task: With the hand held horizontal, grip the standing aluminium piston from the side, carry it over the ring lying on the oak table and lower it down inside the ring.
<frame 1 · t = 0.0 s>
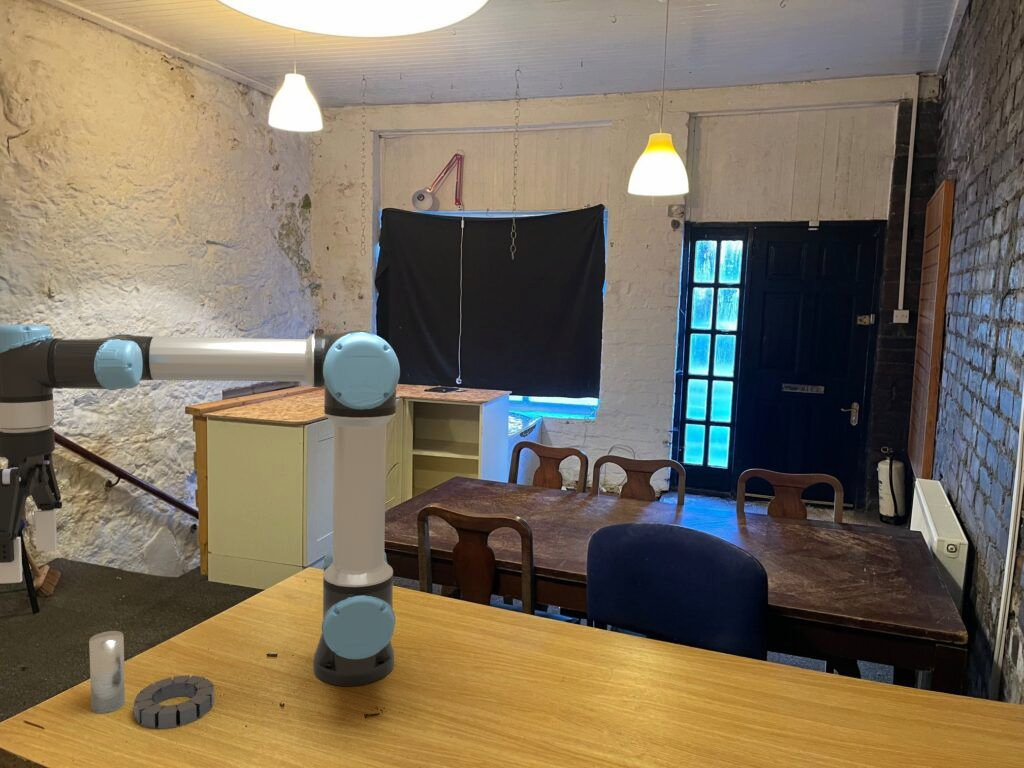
hand: (29, 565, 108), 28 cm above the table, tool pointing down, fingers open, 13 cm apart
ring: (175, 707, 120), on the table
piston: (108, 705, 120), on the table
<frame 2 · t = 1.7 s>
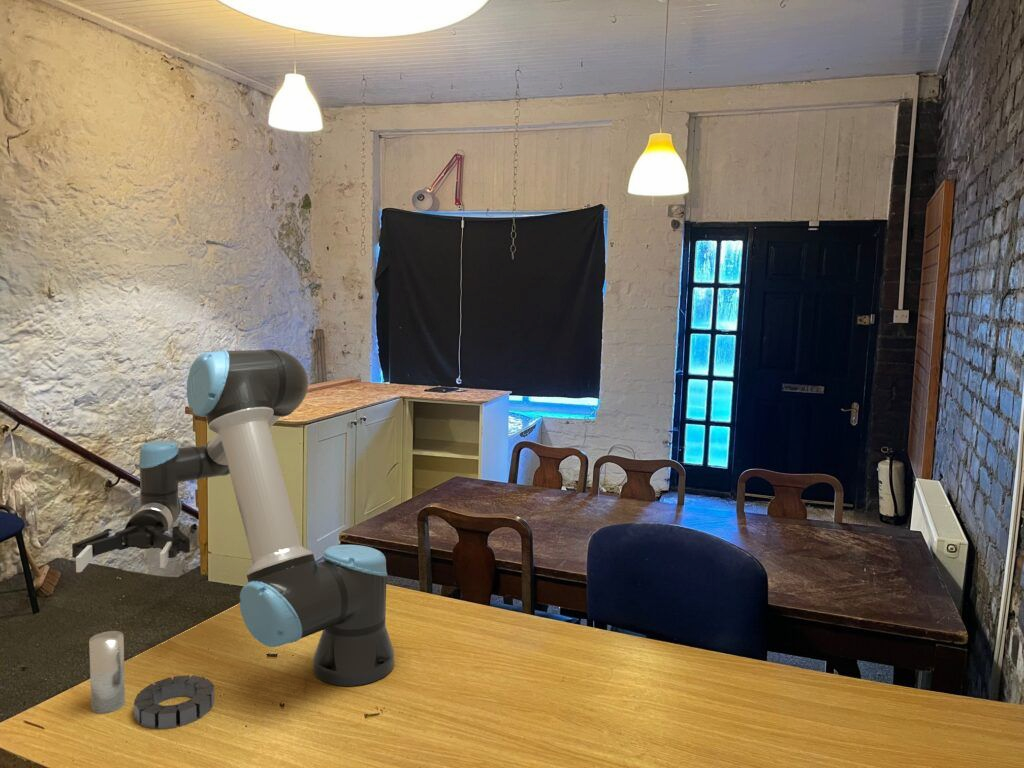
hand: (120, 562, 127), 21 cm above the table, tool horizontal, fingers open, 13 cm apart
nothing on the table moved.
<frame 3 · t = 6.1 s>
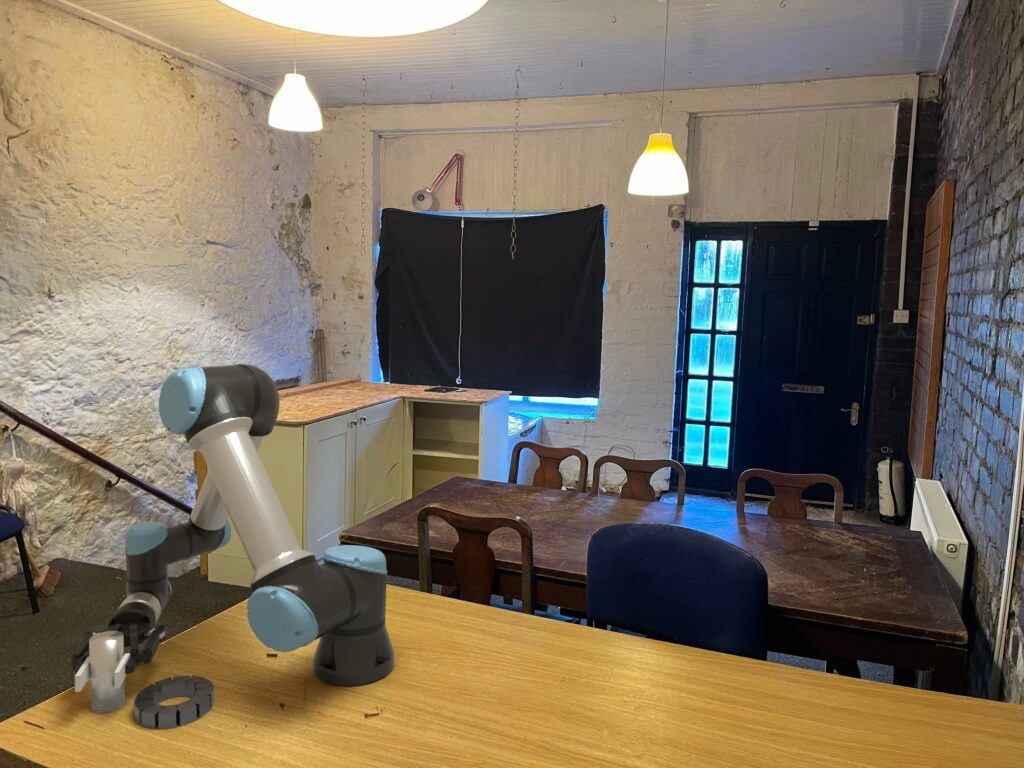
hand: (97, 681, 115), 7 cm above the table, tool horizontal, fingers closed on piston, 5 cm apart
piston: (108, 705, 120), on the table, touching gripper
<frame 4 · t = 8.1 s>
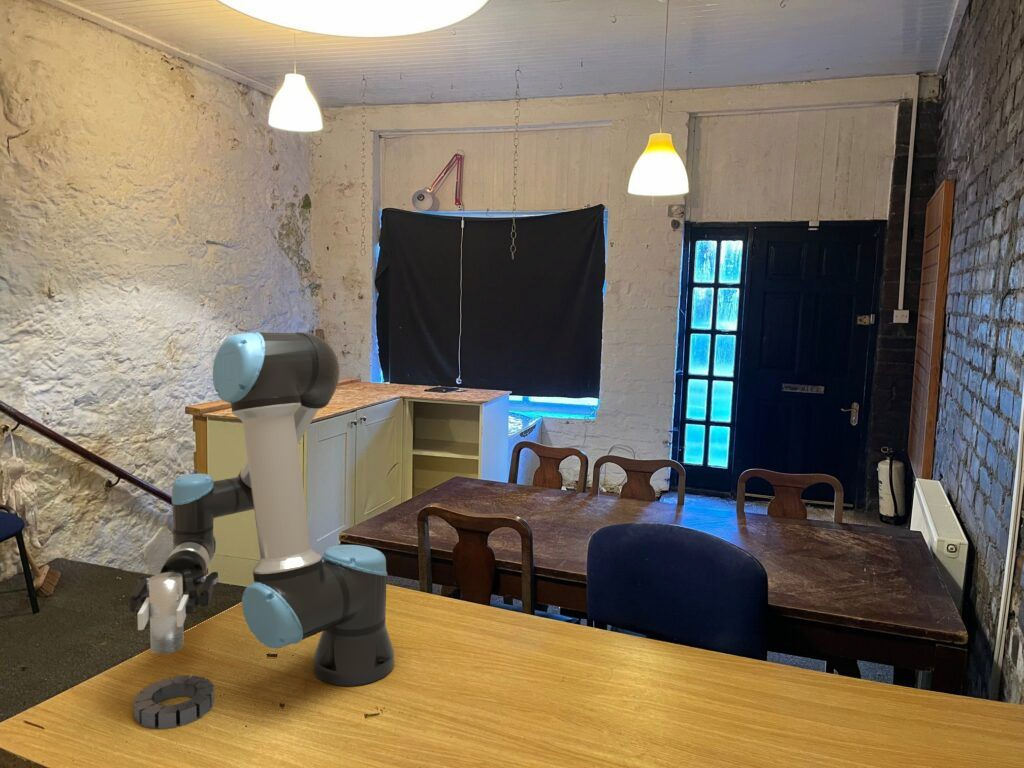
hand: (160, 620, 113), 18 cm above the table, tool horizontal, fingers closed on piston, 5 cm apart
piston: (167, 646, 119), point 11 cm above the table, touching gripper
when the fingers open (8 cm above the table, at t = 10.3 s): piston drops 1 cm, resting in ring.
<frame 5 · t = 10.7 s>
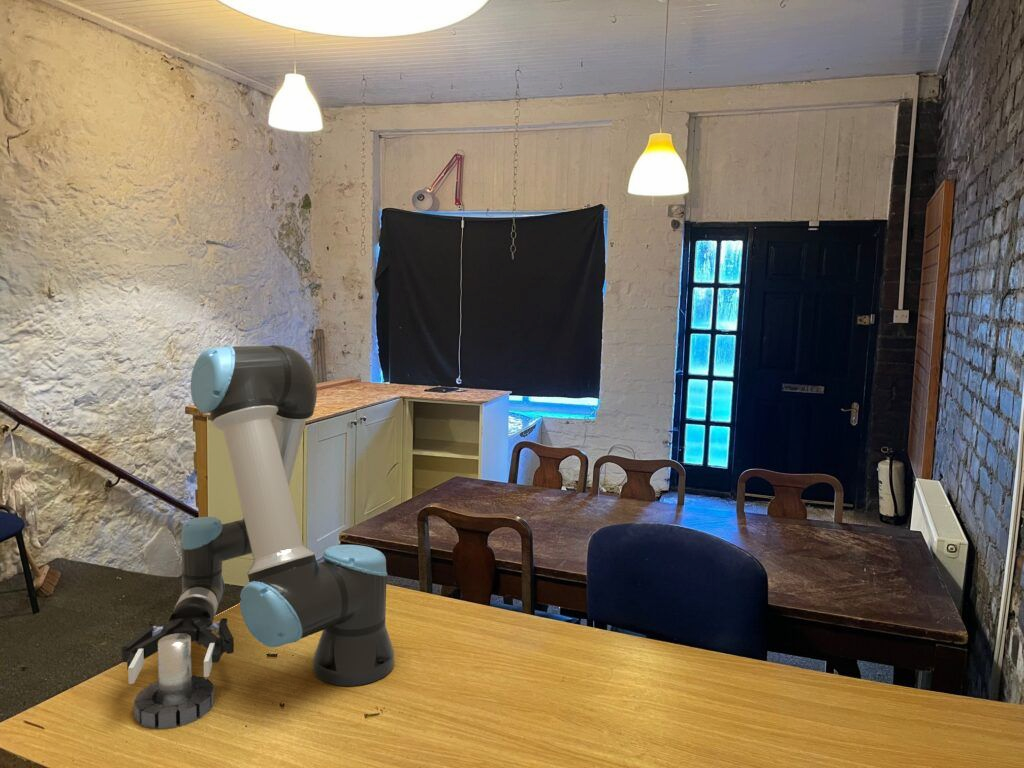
hand: (169, 672, 115), 9 cm above the table, tool horizontal, fingers open, 10 cm apart
piston: (175, 707, 120), resting in ring
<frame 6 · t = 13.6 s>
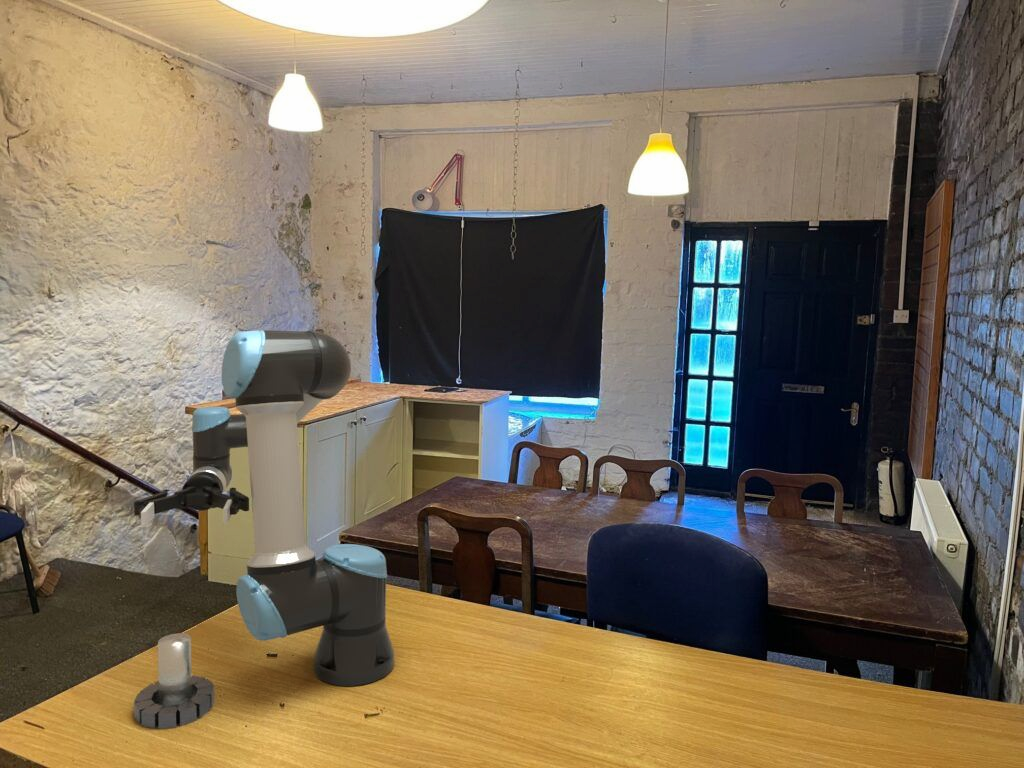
hand: (184, 518, 127), 30 cm above the table, tool horizontal, fingers open, 13 cm apart
nothing on the table moved.
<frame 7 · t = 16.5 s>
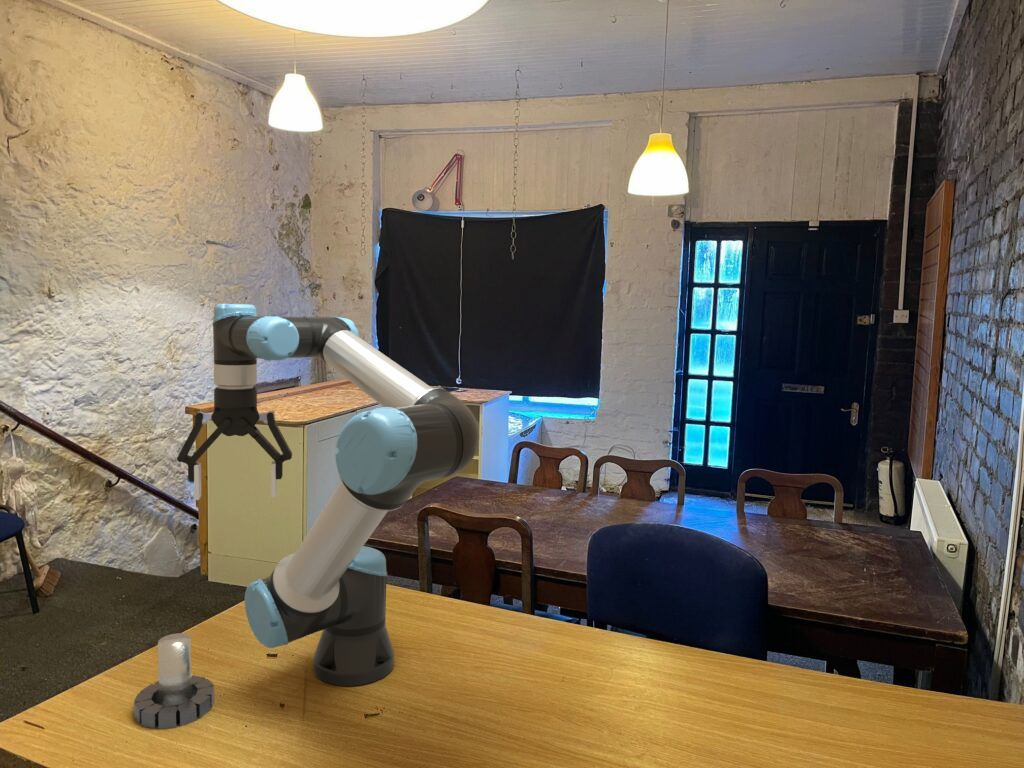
hand: (236, 497, 135), 32 cm above the table, tool pointing down, fingers open, 13 cm apart
nothing on the table moved.
at the end: piston 0.1 cm from the ring (horizontally); piston resting in ring; piston tilted 0° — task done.
